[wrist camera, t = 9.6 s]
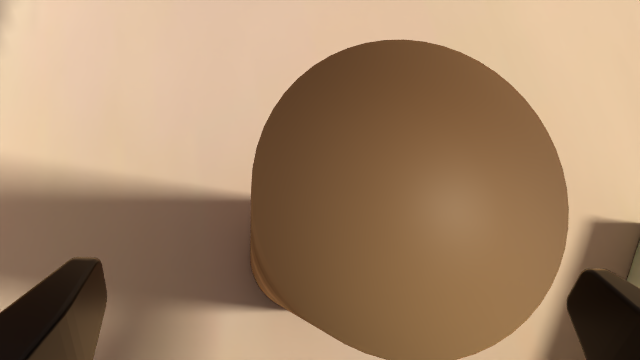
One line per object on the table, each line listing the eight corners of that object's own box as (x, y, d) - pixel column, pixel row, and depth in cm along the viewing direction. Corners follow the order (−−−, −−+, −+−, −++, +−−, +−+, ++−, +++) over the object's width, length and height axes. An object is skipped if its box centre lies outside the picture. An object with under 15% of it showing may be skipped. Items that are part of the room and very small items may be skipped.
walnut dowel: (327, 331, 17) (500, 429, 5) (229, 278, 17) (183, 256, 5) (375, 233, 18) (608, 134, 6) (283, 183, 18) (347, -13, 6)
